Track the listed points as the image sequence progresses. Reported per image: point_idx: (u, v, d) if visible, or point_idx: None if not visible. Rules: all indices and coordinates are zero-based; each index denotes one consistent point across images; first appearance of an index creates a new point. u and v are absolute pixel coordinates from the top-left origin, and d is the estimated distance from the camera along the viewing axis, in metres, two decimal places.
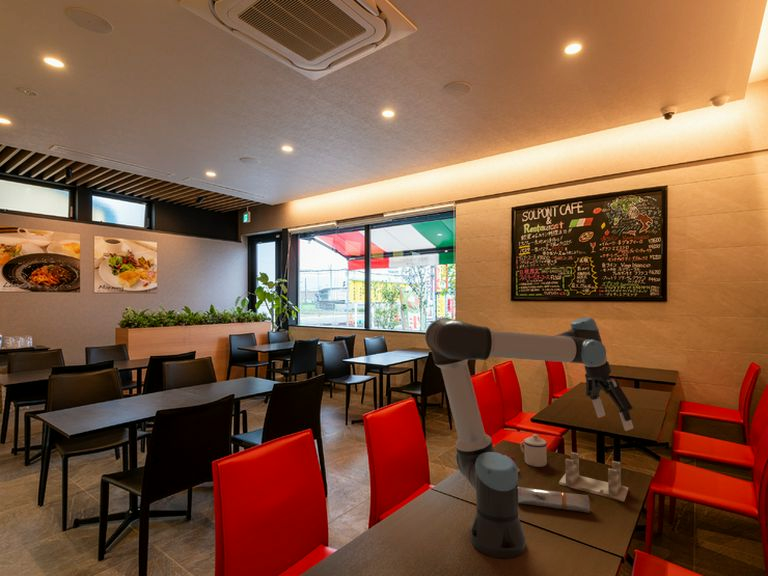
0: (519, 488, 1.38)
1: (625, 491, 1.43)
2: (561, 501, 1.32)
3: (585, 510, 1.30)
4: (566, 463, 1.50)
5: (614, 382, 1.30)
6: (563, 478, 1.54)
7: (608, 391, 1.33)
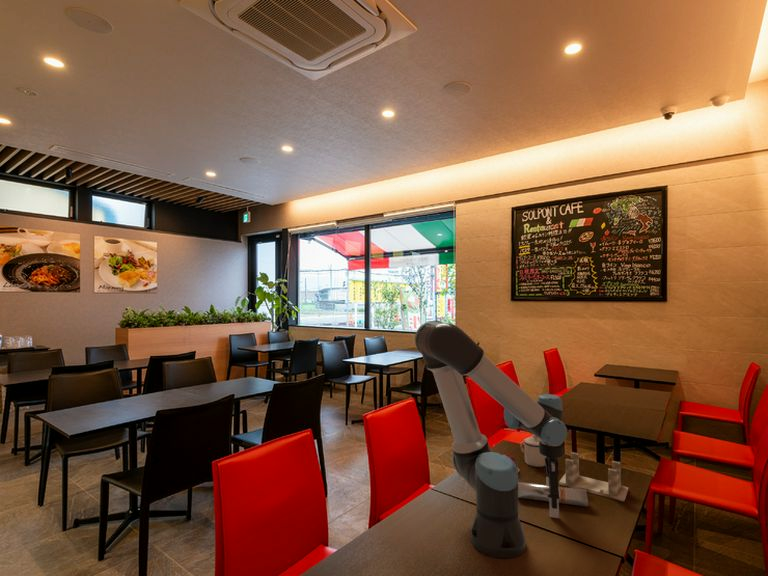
0: None
1: (625, 491, 1.43)
2: None
3: (582, 492, 1.35)
4: (566, 463, 1.50)
5: (553, 466, 1.29)
6: (563, 478, 1.54)
7: (548, 473, 1.32)
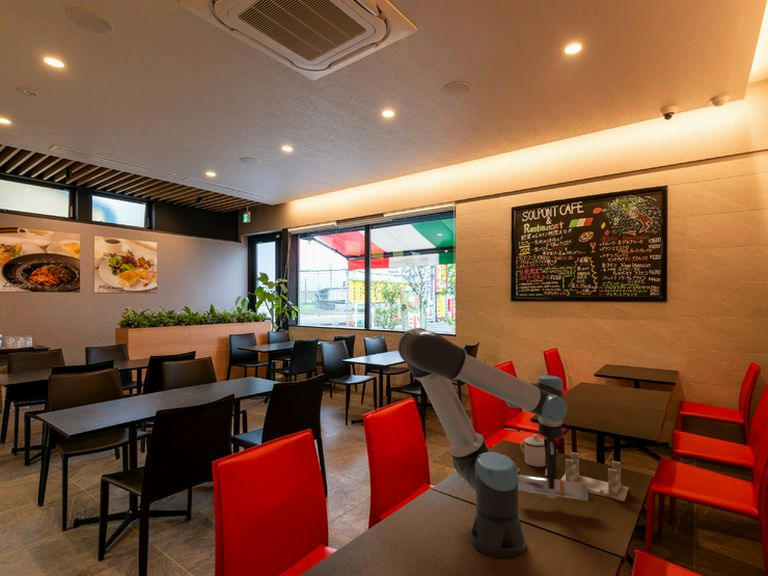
0: (518, 474, 1.39)
1: (625, 491, 1.43)
2: (559, 485, 1.33)
3: (583, 495, 1.30)
4: (566, 463, 1.50)
5: (552, 451, 1.29)
6: (563, 478, 1.54)
7: (547, 454, 1.33)
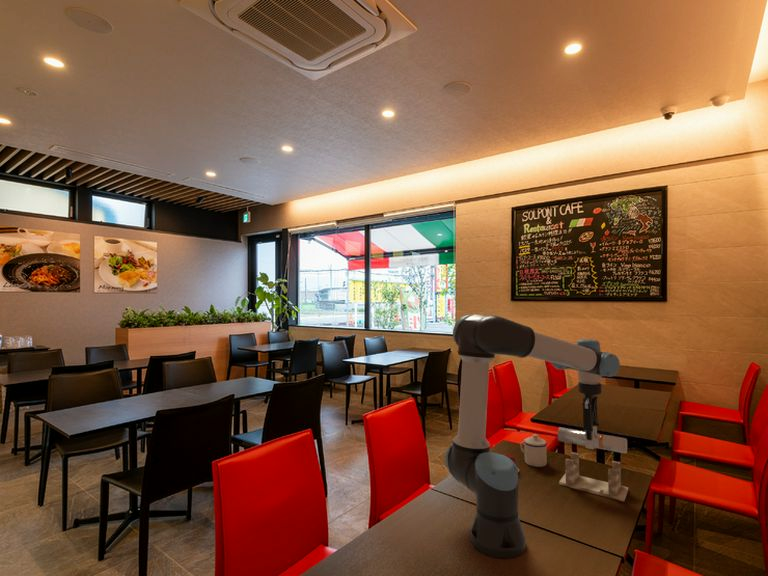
0: (561, 427, 1.55)
1: (625, 491, 1.43)
2: (598, 438, 1.45)
3: (621, 448, 1.40)
4: (566, 463, 1.50)
5: (586, 405, 1.43)
6: (563, 478, 1.54)
7: None
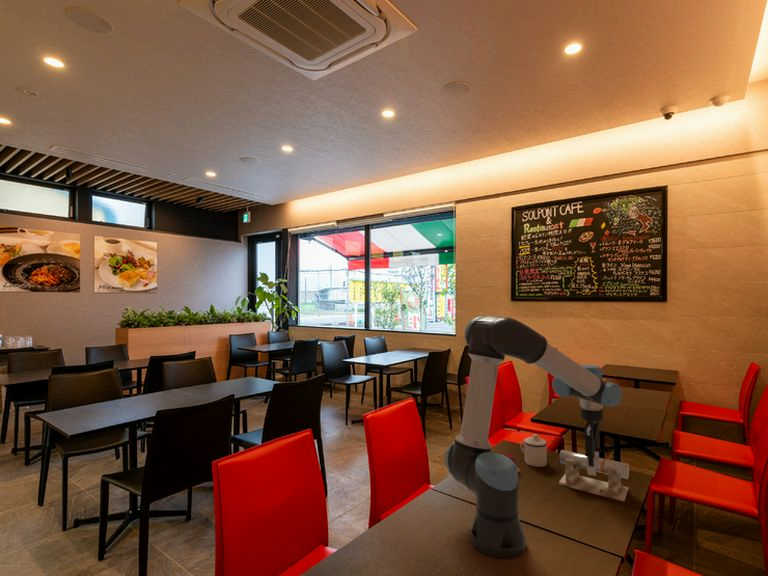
0: (563, 450, 1.56)
1: (625, 491, 1.43)
2: (600, 462, 1.46)
3: (622, 473, 1.41)
4: (566, 463, 1.50)
5: (588, 432, 1.44)
6: (563, 478, 1.54)
7: None
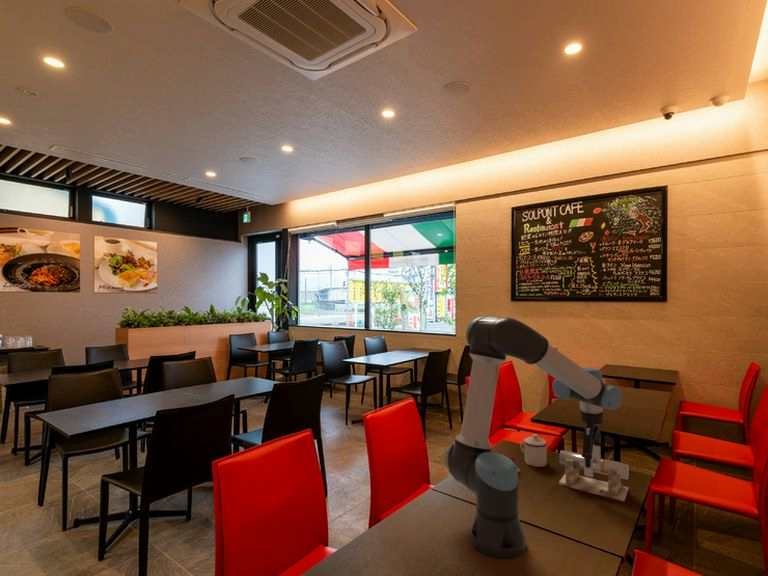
0: (563, 451, 1.55)
1: (625, 491, 1.43)
2: (599, 464, 1.45)
3: (622, 475, 1.40)
4: (566, 463, 1.50)
5: (588, 430, 1.43)
6: (563, 478, 1.54)
7: None
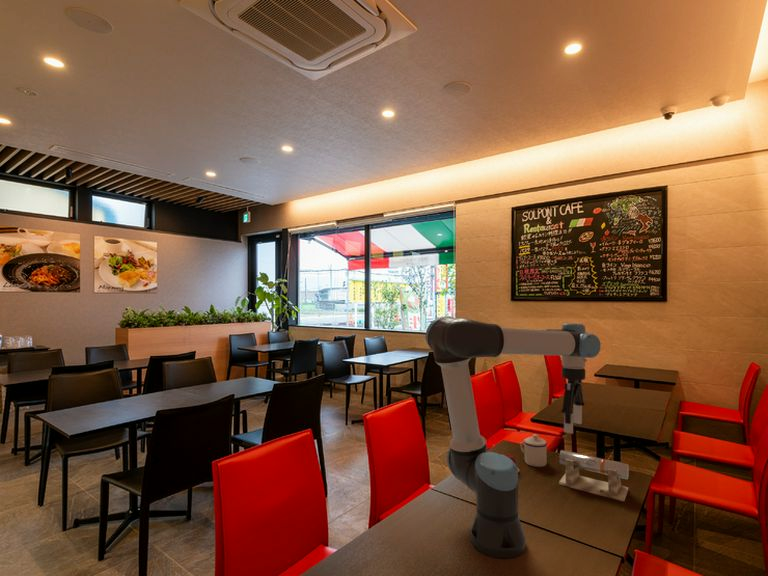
0: None
1: (625, 491, 1.43)
2: (599, 464, 1.45)
3: (622, 475, 1.40)
4: (566, 463, 1.50)
5: (569, 385, 1.38)
6: (563, 478, 1.54)
7: None
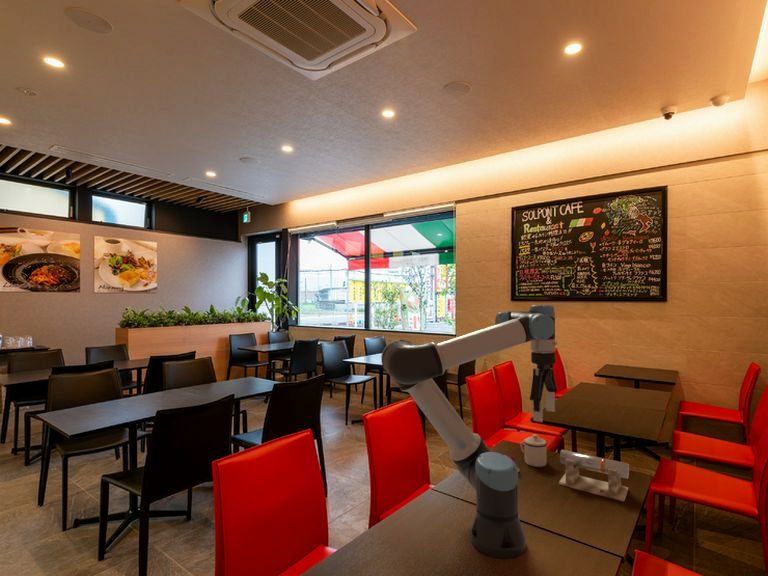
0: (564, 450, 1.56)
1: (625, 491, 1.43)
2: (600, 461, 1.46)
3: (622, 471, 1.41)
4: (566, 463, 1.50)
5: (537, 370, 1.29)
6: (563, 478, 1.54)
7: None
